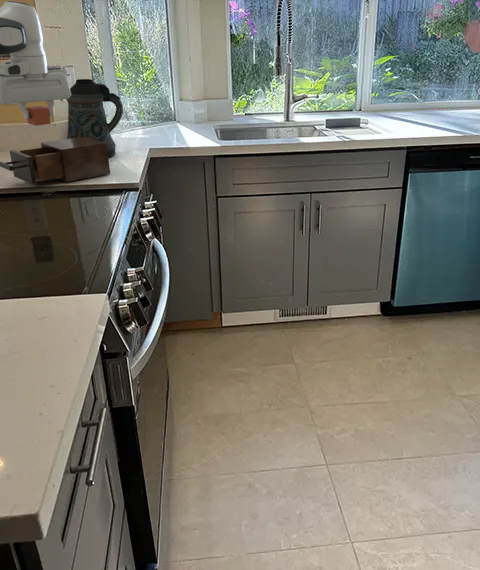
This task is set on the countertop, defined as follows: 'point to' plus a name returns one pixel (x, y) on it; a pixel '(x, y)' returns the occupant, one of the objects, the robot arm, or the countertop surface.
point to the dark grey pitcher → (92, 112)
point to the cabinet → (81, 157)
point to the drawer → (35, 164)
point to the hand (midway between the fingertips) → (38, 117)
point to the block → (38, 115)
